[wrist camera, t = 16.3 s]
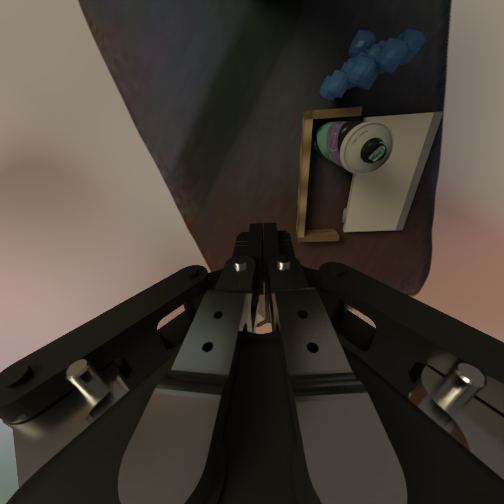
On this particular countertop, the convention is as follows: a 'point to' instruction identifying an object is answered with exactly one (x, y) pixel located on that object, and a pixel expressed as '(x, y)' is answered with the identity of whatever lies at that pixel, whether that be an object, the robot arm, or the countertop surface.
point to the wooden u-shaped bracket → (304, 172)
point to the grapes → (371, 61)
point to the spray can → (354, 144)
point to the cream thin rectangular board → (392, 175)
